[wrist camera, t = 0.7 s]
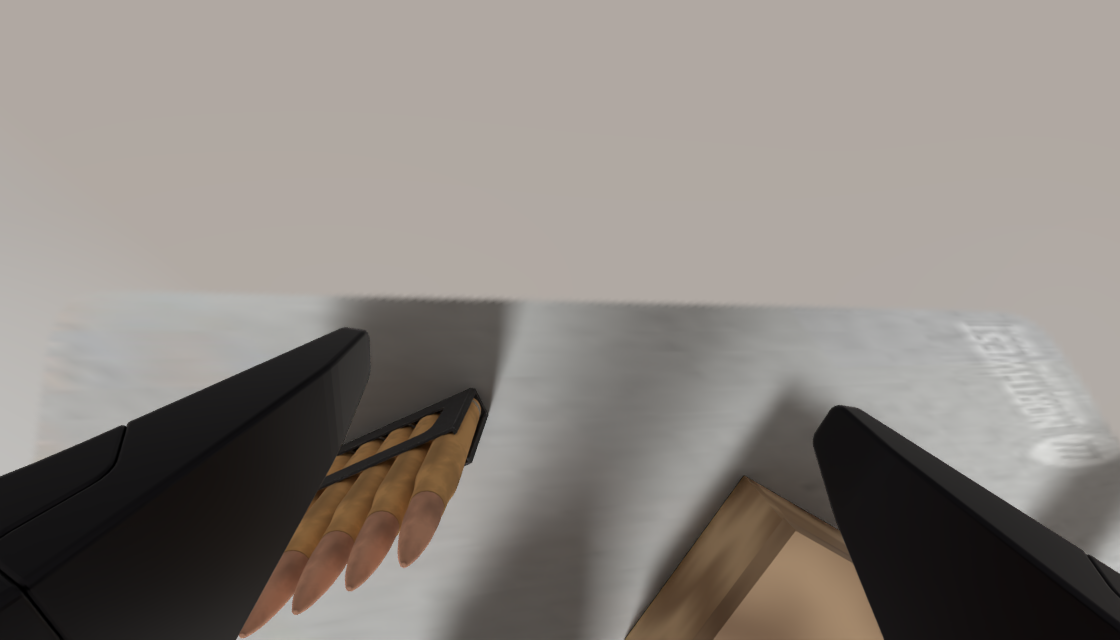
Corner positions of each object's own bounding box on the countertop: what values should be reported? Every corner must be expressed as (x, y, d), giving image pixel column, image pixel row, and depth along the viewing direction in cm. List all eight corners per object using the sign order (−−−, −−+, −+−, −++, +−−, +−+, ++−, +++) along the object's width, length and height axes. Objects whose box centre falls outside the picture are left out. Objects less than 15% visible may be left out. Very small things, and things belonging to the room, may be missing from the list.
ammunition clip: (474, 386, 25) (418, 526, 13) (489, 415, 25) (447, 577, 13) (298, 464, 25) (85, 672, 13) (315, 492, 25) (122, 719, 13)
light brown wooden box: (725, 691, 29) (757, 768, 25) (623, 641, 28) (639, 713, 24) (847, 535, 27) (904, 589, 23) (744, 475, 26) (783, 521, 22)
